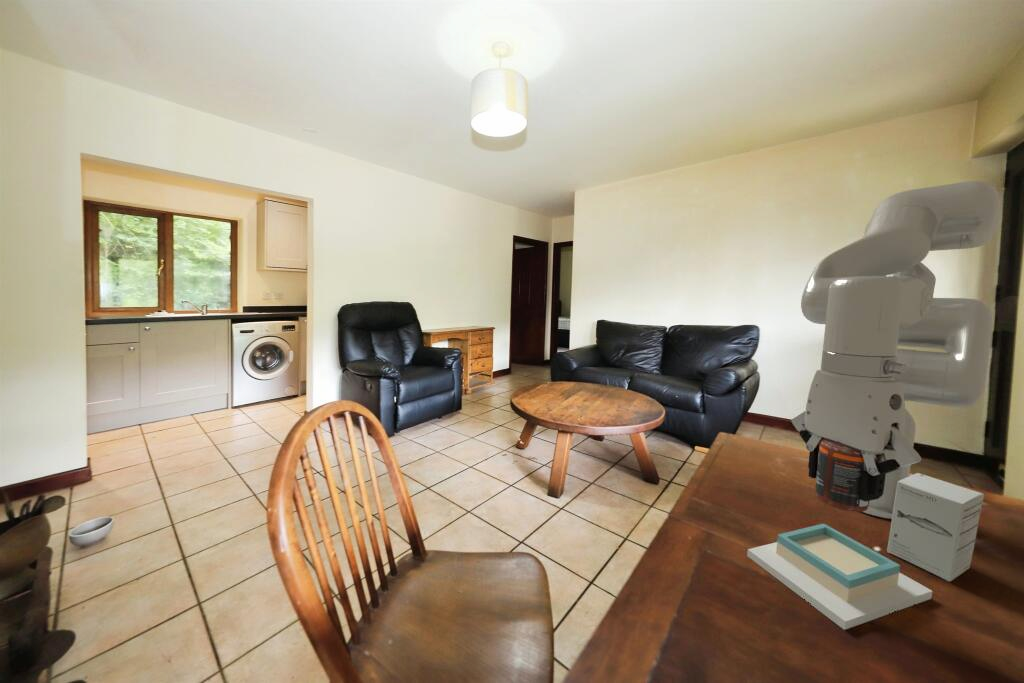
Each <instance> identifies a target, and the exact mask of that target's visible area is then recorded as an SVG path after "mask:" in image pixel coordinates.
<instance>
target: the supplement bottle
mask: <svg viewBox="0 0 1024 683" xmlns="http://www.w3.org/2000/svg"><path fill="white" fill-rule="evenodd" d="M862 472H867V468H866V465H865V462H864V458H863V455H862V452H861V451H860V450H857V449H854V448H851V447H849V446H847V445H845V444H842V443H840V442H838V441H833V440H829V439H825V438H824V439H822V440H821V442H820V447H819V457H818V466H817V477H816V478H815V488H814V489H815V491H814V492H815V493H814V494H815V497H816V498H817V499H818V500H820V501H821V502H822V503H824V504H825V505H828V506H829V507H832V508H834V509H838V510H842V511H845V512H852V513H853V512H855V513H864V512H863V511H865V510H867V509H868V506H869V501H866V502H865V501H863V500H860V498H859V490H860V481H861V474H862Z"/></svg>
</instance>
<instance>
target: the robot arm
mask: <svg viewBox="0 0 1024 683" xmlns="http://www.w3.org/2000/svg"><path fill="white" fill-rule="evenodd" d="M1000 212H1001V199H1000V195H999V192H998V190H997V189H996V187H994V185H992V184H991V183H988V182H986V181H984V180H983V181H982V180H970V181H969V180H968V181H963V182H955V183H954V182H953V183H949V184H943V185H934V186H929V187H928V186H927V187H921V188H914V189H909V190H905V191H900V192H897V193H894V194H892V195H889V196H888V197H886V198H885V199H883V200H882V201H881V202H880V203H879V204H878V205H877V206H876V208H874V211H873V213H872V216H871V217H870V220H869V221H868V223H866V225H865V230H864V234H863V235H862V238H860V239H857V240H855V241H853V242H851V243H849V244H847V245H845V246H844V247H841V248H840V249H838V250H835V251H833V252H832V253H830V254H828V255H827V256H825V257H824V258H823V259H821V260H820V261H819V262H818V264H816V265H815V267H814V269H813V271H812V272H811V274H810V276H809V278H808V280H807V283H806V285H805V287H804V289H803V292H802V296H801V300H800V302H801V303H800V308H801V313H802V315H803V316H804V318H806V320H807V321H809V322H811V323H813V324H819V325H825V326H824V332H823V333H824V335H823V344H822V345H823V346H822V352H821V362H820V363H821V365H820V369H816V371H815V374H814V376H813V378H812V380H811V384H810V387H809V391H808V396H807V401H806V404H805V405H806V406H805V410H804V411H803V412H801V413H800V414H798V415H797V416H795V417H793V418H792V419H791V423H792V425H793V426H794V428H795V429H796V431H797V432H799V436H800V437H801V439H802V440H803V441H804V444H805V449H806V450H807V451H808V452H809V456H808V477H809V478H811V479H816V477H817V466H818V457H819V447H820V442H821V440H822V439H824V438H825V439H829V440H833V441H838V442H840V443H842V444H845V445H847V446H849V447H851V448H854V449H857V450H860V451H861V452H862V455H863V458H864V462H865V465H866V468H867V472H862V474H861V481H860V490H859V498H860V500H863V501H865V502H866V501H869V506H868V509H867V510H865V511H863V512H862V513H863V514H868V515H870V516H871V515H872V516H875V517H879V518H883V519H889V520H892V515H893V508H894V502H895V495H896V489H897V483H898V481H900V480H902V479H904V478H907V477H909V476H910V473H911V472H910V471H911V466H912V465H913V464H917V463H919V462H921V461H922V457H921V455H920V454H919V453H918V451H917V450H916V449H915V448H914V446H915V445H914V444H915V436H916V428H917V426H916V422H915V420H914V417H913V416H912V415H911V414H910V412H909V411H908V410H907V408H906V406H905V405H906V403H905V402H908V401H909V402H915V403H923V404H928V405H935V406H943V407H950V408H958V409H959V408H963V409H966V408H972V407H973V406H975V405H976V404H978V403H979V402H980V400H981V399H982V397H983V395H984V391H985V388H986V387H985V386H986V382H987V372H988V365H989V357H990V349H991V340H992V333H993V315H992V311H991V308H990V307H989V306H988V304H986V303H985V302H983V301H981V300H978V299H975V298H974V299H973V298H966V297H965V298H964V297H963V298H962V297H934V294H935V286H936V282H937V277H936V275H935V273H933V271H931V269H929V267H928V266H926V265H925V264H924V263H922V262H923V261H924V260H925V259H926V257H927V256H928V255H929V252H931V251H933V252H934V251H947V250H949V251H950V250H966V249H967V250H968V249H974V248H975V249H976V248H979V247H982V246H984V245H986V244H988V242H990V241H991V240H992V239H993V237H994V236H995V234H996V231H997V228H998V224H999V220H1000ZM898 346H900V347H908V348H909V347H910V348H911V347H912V348H922V349H935V350H936V349H937V350H938V349H939V350H943V351H945V352H941V351H929V350H928V351H926V350H917V349H907V348H906V349H905V348H898Z"/></svg>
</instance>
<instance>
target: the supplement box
mask: <svg viewBox="0 0 1024 683" xmlns="http://www.w3.org/2000/svg"><path fill="white" fill-rule="evenodd" d="M984 498H985V493H982V492H980V491H977V490H974V489H969V488H967V487H963V486H960V485H956V484H954V483H951V482H947V481H944V480H941V479H939V478H935V477H932V476H928V475H926V474H923V473H919V472H916V473H914V474H912V475H909V477H907V478H904V479H902V480H900V481H898V483H897V489H896V495H895V502H894V508H893V515H892V519H891V524H890V528H889V529H890V530H889V534H888V535H889V536H888V543H887V549H886V551H887V553H888V554H891V555H893V556H896V557H898V558H900V559H902V560H905V561H906V562H908V563H911V564H912V565H914V566H917V567H919V568H921V569H924V570H925V571H927V572H929V573H932V574H933V575H935V576H938V577H939V578H941V579H943V580H945V581H946V582H949V583H950V582H952V581H954V580H956V578H958V577H959V576H960V575H962V574H963V573H965V572H966V571H967V570H969V569H970V567H971V565H972V564H971V563H972V558H973V553H974V549H975V545H976V538H977V534H978V528H979V521H980V515H981V511H982V506H983V502H984Z"/></svg>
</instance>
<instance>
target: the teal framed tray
mask: <svg viewBox="0 0 1024 683" xmlns="http://www.w3.org/2000/svg"><path fill="white" fill-rule="evenodd" d="M776 539H777V540H776V542H773V543H768V544H763V545H760V546H756V547H752V548H748V549H747V554H746V555H747V557H748V558H749V559H750V560H752V561H753V562H754V563H755V564H757V565H759V567H761V568H762V569H764V570H765V571H766V572H768V573H769V574H770V575H772V576H773V577H774V578H775V579H777V580H778V581H780V582H781V583H782V584H783V585H785V587H787V588H788V589H790V590H791V591H793V592H794V593H795V594H796V595H798V596H799V597H801V599H803V600H804V599H805V600H804V601H806V602H807V603H808V602H809V603H808V604H810V603H811V604H810V605H811V606H812V607H813V608H814V609H816V610H817V611H818V612H820V613H821V614H822V615H824V616H826V617H827V618H828V619H829V620H831V621H832V622H833V623H834V624H836V625H837V626H839V628H841V629H842V630H843V631H845V630H848V629H850V628H854V627H856V626H859V625H862V624H864V623H867V622H871V621H873V620H876V619H878V618H879V619H880V618H881V617H884V616H888V615H890V614H892V612H893V613H895V612H894V611H896V612H898V611H900V610H901V611H902V610H904V609H906V608H909V607H912V606H915V605H918V604H920V603H923V602H926V601H929V600H931V599H932V596H933V590H932V589H930V588H928V587H926V586H924V585H922V584H921V583H919V582H918V581H915V580H914V579H912V578H911V577H908V576H907V575H906V574H903V573H902V572H900V569H901V564H899V563H897V562H895V561H893V560H891V559H890V558H888V557H886V556H885V555H882V554H880V553H879V552H876V551H875V550H873V549H871V548H870V547H868V546H866V545H864V544H862V543H861V542H859V541H857V540H855V539H853V538H851V537H849V536H848V535H846V534H844V533H842V532H840V531H838V530H836V529H835V528H833V527H831V526H829V525H827V524H825V523H821V524H817V525H813V526H812V525H811V526H807V527H803V528H799V529H795V530H791V531H788V532H783V533H779V534H777V538H776ZM914 604H915V605H914ZM897 610H898V611H897ZM889 613H890V614H889Z"/></svg>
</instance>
